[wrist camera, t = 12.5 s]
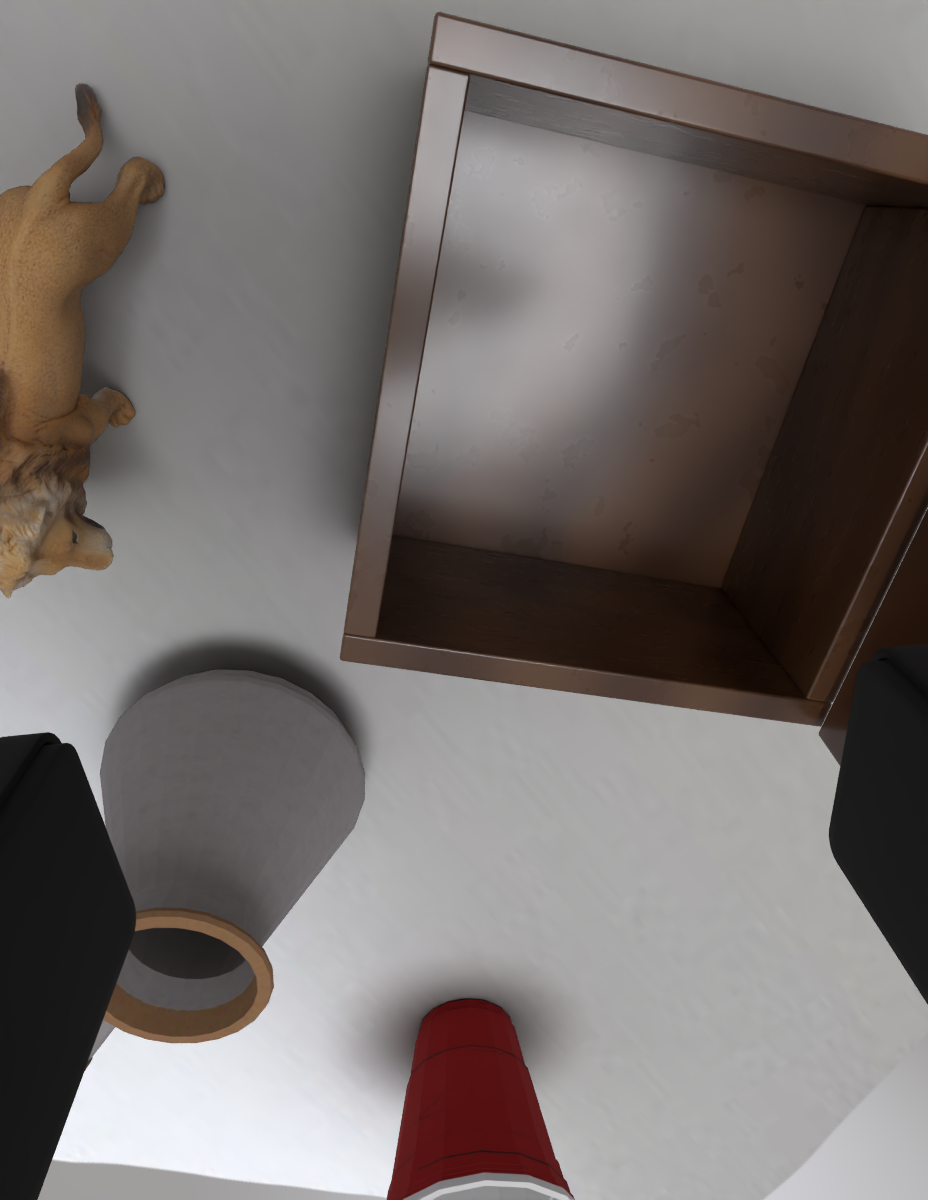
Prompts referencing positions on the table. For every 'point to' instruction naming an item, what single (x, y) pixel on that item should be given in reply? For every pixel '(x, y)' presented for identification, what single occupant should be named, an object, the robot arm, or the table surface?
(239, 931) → the coffee pot
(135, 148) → the table surface
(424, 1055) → the plastic cup
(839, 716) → the lid
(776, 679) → the chest
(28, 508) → the lion figurine
